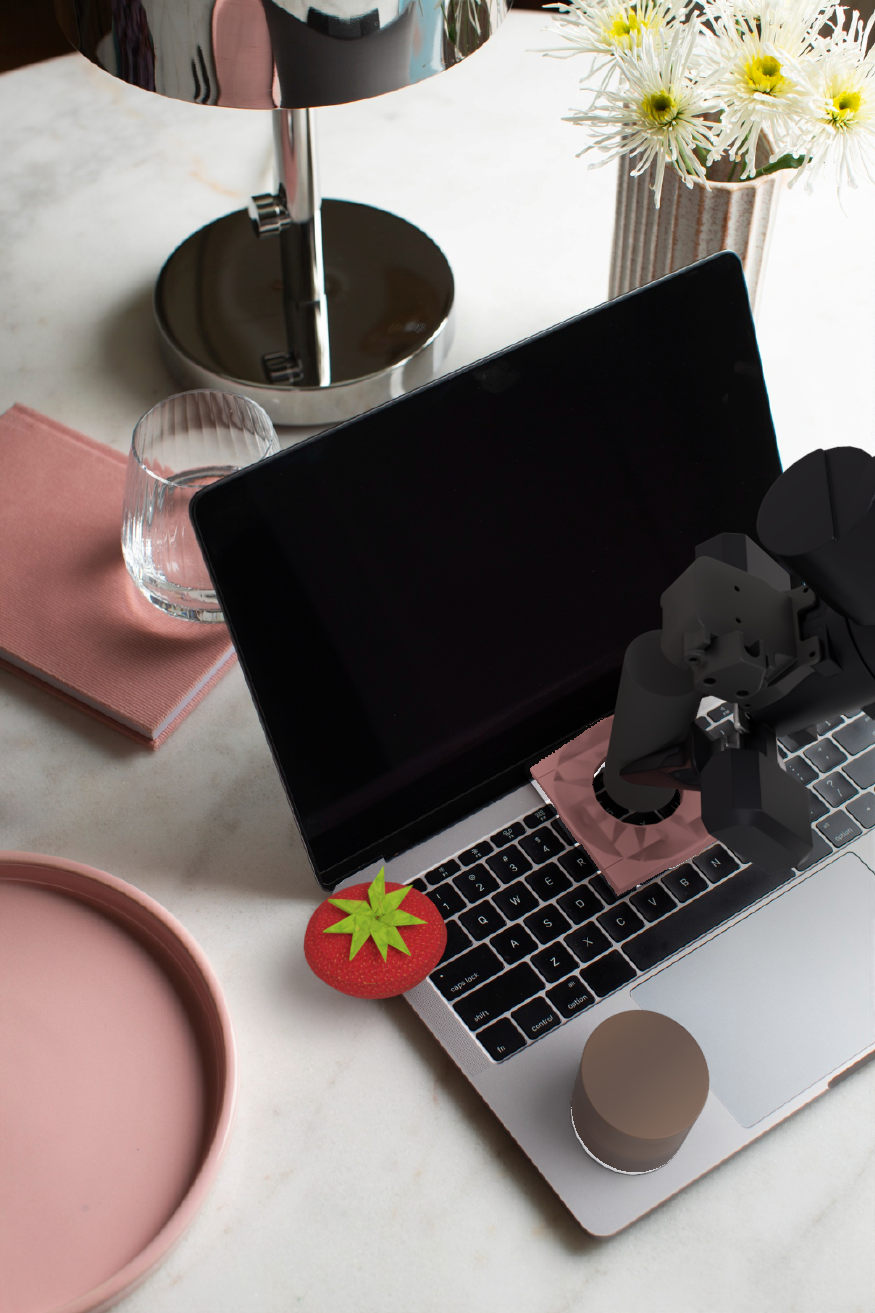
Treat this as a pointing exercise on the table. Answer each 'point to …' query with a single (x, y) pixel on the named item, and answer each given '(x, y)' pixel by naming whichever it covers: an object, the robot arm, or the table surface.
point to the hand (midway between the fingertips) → (624, 742)
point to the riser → (638, 1090)
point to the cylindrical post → (647, 719)
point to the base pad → (606, 839)
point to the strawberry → (375, 939)
